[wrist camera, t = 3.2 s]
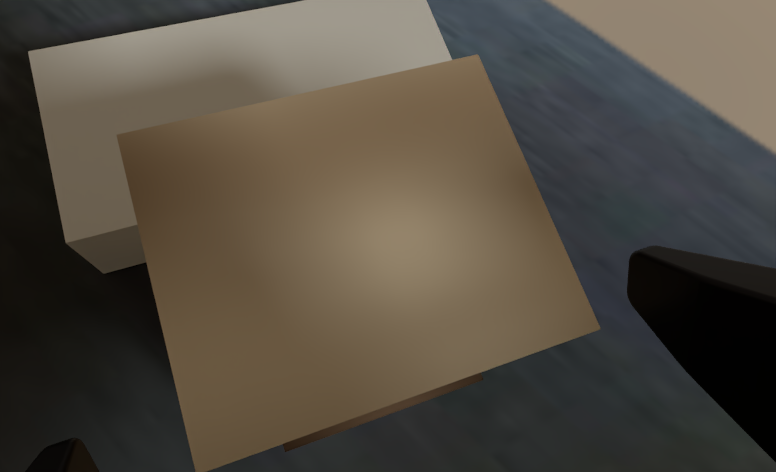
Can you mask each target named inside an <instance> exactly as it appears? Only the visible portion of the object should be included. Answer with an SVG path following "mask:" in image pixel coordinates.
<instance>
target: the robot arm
mask: <svg viewBox="0 0 776 472" xmlns="http://www.w3.org/2000/svg"><path fill="white" fill-rule="evenodd" d="M627 295H628V298H629V301H630V303H631V305H632V306H633V307H634V309H635V310H636V311H637V312H638V313H639V315H640V316H641V317H642V318H643V320H644V321H645V322H646V323H647V324H648V326H649V327H650V328H651V329H652V331H653V332H654V333H655V334H656V336H657V337H658V338H659V339H660V340H661V342H662V343H663V344H664V345H665V347H666V348H667V349H668V350H669V352H670V353H671V354H672V355H673V356H674V358H675V359H676V360H677V361H678V362H679V364H680V365H681V366H682V367H683V368H684V369H685V371H686V372H687V373H688V374H689V375H690V376H691V377H692V378H693V379H694V380H695V381H696V382H697V383H698V384H699V385H700V386H701V387H702V388H703V389H704V390H705V391H706V392H707V393H708V394H709V395H710V396H711V397H712V398H713V399H714V400H715V401H716V403H717V404H718V405H719V406H720V407H721V408H722V409H723V410H724V411H725V412H726V413H727V414H728V415H729V416H730V417H731V418H732V419H733V420H734V421H735V422H736V423H737V424H738V425H739V426H740V427H741V428H742V429H743V430H744V431H745V432H746V433H747V434H748V435H749V436H750V437H751V438H752V439H753V440H754V441H755V442H756V443H757V444H758V445H759V446H760V447H761V448H762V449H763V450H764V451H765V452H766V453H767V454H768V455H769V456H770V457H771V458H772V459H773V460H774V461H775V462H776V269H775V268H770V267H765V266H759V265H754V264H749V263H744V262H739V261H734V260H728V259H723V258H718V257H713V256H708V255H702V254H697V253H692V252H687V251H682V250H677V249H671V248H666V247H661V246H649V247H646V248H643V249H640V250H637V251H635V252H634V253H632V255H631V257H630V259H629V270H628V284H627ZM25 472H99V470H98V468H97V467H96V465H95V463H94V461H93V459H92V458H91V456H90V454H89V452H88V450H87V449H86V447H85V445H84V443H83V442H82V441H81V440H80V439H77V438H71V439H68V440H65V441H62V442H59V443H56V444H53V445H50V446H48V447H46V448H45V449H43V451H42V452H41V453H40V454H39V455H38V456H37V458H36V459H35V460H34V461H33V462H32V464H31V465H30V466H29V467H28V469H27V470H26V471H25Z"/></svg>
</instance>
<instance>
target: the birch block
mask: <svg viewBox="0 0 776 472" xmlns="http://www.w3.org/2000/svg"><path fill="white" fill-rule="evenodd" d="M117 140H118V144H119V148H120V152H121V157H122V161H123V165H124V169H125V174H126V178H127V182H128V186H129V191H130V195H131V199H132V203H133V208H134V212H135V216H136V220H137V225H138V229H139V233H140V237H141V242H142V246H143V250H144V254H145V259H146V263H147V267H148V271H149V276H150V280H151V284H152V288H153V293H154V297H155V301H156V305H157V310H158V314H159V318H160V322H161V327H162V331H163V335H164V339H165V344H166V348H167V352H168V356H169V360H170V365H171V369H172V373H173V377H174V382H175V386H176V390H177V394H178V399H179V403H180V407H181V411H182V416H183V420H184V424H185V428H186V433H187V437H188V441H189V445H190V450H191V454H192V458H193V462H194V467H195V471H196V472H206V471H209V470H212V469H214V468H217V467H220V466H223V465H225V464H228V463H231V462H234V461H237V460H239V459H242V458H245V457H248V456H250V455H253V454H256V453H259V452H261V451H264V450H267V449H270V448H273V447H275V446H278V445H281V444H283V446H284V449H285V452H287V451H289V450H292V449H295V448H298V447H300V446H303V445H306V444H308V443H311V442H314V441H317V440H319V439H322V438H325V437H328V436H330V435H333V434H336V433H339V432H341V431H344V430H347V429H350V428H352V427H355V426H358V425H361V424H363V423H366V422H369V421H372V420H374V419H377V418H380V417H383V416H385V415H388V414H391V413H393V412H396V411H399V410H402V409H404V408H407V407H410V406H413V405H415V404H418V403H421V402H424V401H426V400H429V399H432V398H435V397H437V396H440V395H443V394H446V393H448V392H451V391H454V390H457V389H459V388H462V387H465V386H468V385H470V384H473V383H476V382H478V381H481V380H483V378H482V375H481V373H480V372H483V371H486V370H489V369H491V368H494V367H497V366H500V365H502V364H505V363H508V362H511V361H514V360H516V359H519V358H522V357H525V356H527V355H530V354H533V353H536V352H538V351H541V350H544V349H547V348H550V347H552V346H555V345H558V344H561V343H563V342H566V341H569V340H572V339H574V338H577V337H580V336H583V335H586V334H588V333H591V332H594V331H597V330H599V329H601V328H600V326H599V324H598V322H597V319H596V317H595V315H594V313H593V310H592V308H591V306H590V304H589V302H588V299H587V297H586V295H585V293H584V290H583V288H582V286H581V284H580V281H579V279H578V277H577V275H576V272H575V270H574V268H573V266H572V264H571V261H570V259H569V257H568V255H567V252H566V250H565V248H564V246H563V243H562V241H561V239H560V237H559V235H558V232H557V230H556V228H555V226H554V223H553V221H552V219H551V217H550V214H549V212H548V210H547V208H546V205H545V203H544V201H543V199H542V197H541V194H540V192H539V190H538V188H537V185H536V183H535V181H534V179H533V176H532V174H531V172H530V170H529V167H528V165H527V163H526V161H525V159H524V156H523V154H522V152H521V150H520V147H519V145H518V143H517V141H516V138H515V136H514V134H513V132H512V130H511V127H510V125H509V123H508V121H507V118H506V116H505V114H504V112H503V109H502V107H501V105H500V103H499V100H498V98H497V96H496V94H495V92H494V89H493V87H492V85H491V83H490V80H489V78H488V76H487V74H486V71H485V69H484V67H483V65H482V62H481V60H480V58H479V56H478V55H473V56H469V57H464V58H460V59H455V60H451V61H446V62H442V63H437V64H433V65H428V66H424V67H419V68H415V69H410V70H405V71H401V72H396V73H392V74H387V75H383V76H378V77H374V78H369V79H365V80H360V81H356V82H351V83H347V84H342V85H338V86H333V87H329V88H324V89H320V90H315V91H311V92H306V93H302V94H297V95H293V96H288V97H284V98H279V99H275V100H270V101H266V102H261V103H257V104H252V105H248V106H243V107H239V108H234V109H230V110H225V111H221V112H216V113H212V114H207V115H203V116H198V117H194V118H189V119H185V120H180V121H176V122H171V123H167V124H162V125H158V126H153V127H149V128H144V129H140V130H135V131H131V132H126V133H122V134H117Z"/></svg>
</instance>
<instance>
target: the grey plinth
mask: <svg viewBox="0 0 776 472" xmlns="http://www.w3.org/2000/svg"><path fill="white" fill-rule="evenodd" d="M28 54H29V59H30V64H31V69H32V75H33V80H34V85H35V90H36V95H37V100H38V105H39V110H40V115H41V120H42V125H43V130H44V136H45V141H46V146H47V151H48V156H49V161H50V166H51V171H52V176H53V181H54V186H55V191H56V197H57V202H58V207H59V212H60V217H61V222H62V227H63V232H64V237H65V242H66V244H67V245H69V246H70V247H71V248H72V249H74V250H75V251H76V252H77V253H79V254H80V255H81V256H82V257H83V258H85V259H86V260H87V261H88V262H90V263H91V264H92V265H93V266H95V267H96V268H97V269H98V270H100V271H101V272H102V273H103V274H105V273H109V272H112V271H116V270H120V269H123V268H127V267H131V266H134V265H138V264H142V263H145V262H146V259H145V254H144V250H143V246H142V242H141V237H140V233H139V229H138V225H137V220H136V216H135V212H134V208H133V203H132V199H131V195H130V191H129V186H128V182H127V178H126V174H125V169H124V165H123V161H122V157H121V152H120V148H119V144H118V140H117V134H122V133H126V132H131V131H135V130H140V129H144V128H149V127H153V126H158V125H162V124H167V123H171V122H176V121H180V120H185V119H189V118H194V117H198V116H203V115H207V114H212V113H216V112H221V111H225V110H230V109H234V108H239V107H243V106H248V105H252V104H257V103H261V102H266V101H270V100H275V99H279V98H284V97H288V96H293V95H297V94H302V93H306V92H311V91H315V90H320V89H324V88H329V87H333V86H338V85H342V84H347V83H351V82H356V81H360V80H365V79H369V78H374V77H378V76H383V75H387V74H392V73H396V72H401V71H405V70H410V69H415V68H419V67H424V66H428V65H433V64H437V63H442V62H446V61H451V60H452V59H451V56H450V54H449V52H448V49H447V47H446V45H445V42H444V40H443V38H442V36H441V33H440V31H439V29H438V26H437V24H436V22H435V19H434V17H433V15H432V12H431V10H430V8H429V5H428V3H427V1H426V0H304V1H299V2H293V3H288V4H282V5H277V6H272V7H266V8H261V9H255V10H250V11H244V12H239V13H234V14H228V15H223V16H217V17H212V18H207V19H201V20H196V21H190V22H185V23H179V24H174V25H169V26H163V27H158V28H152V29H147V30H141V31H136V32H131V33H125V34H120V35H114V36H109V37H104V38H98V39H93V40H87V41H82V42H76V43H71V44H66V45H60V46H55V47H49V48H44V49H38V50H33V51H28Z"/></svg>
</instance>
